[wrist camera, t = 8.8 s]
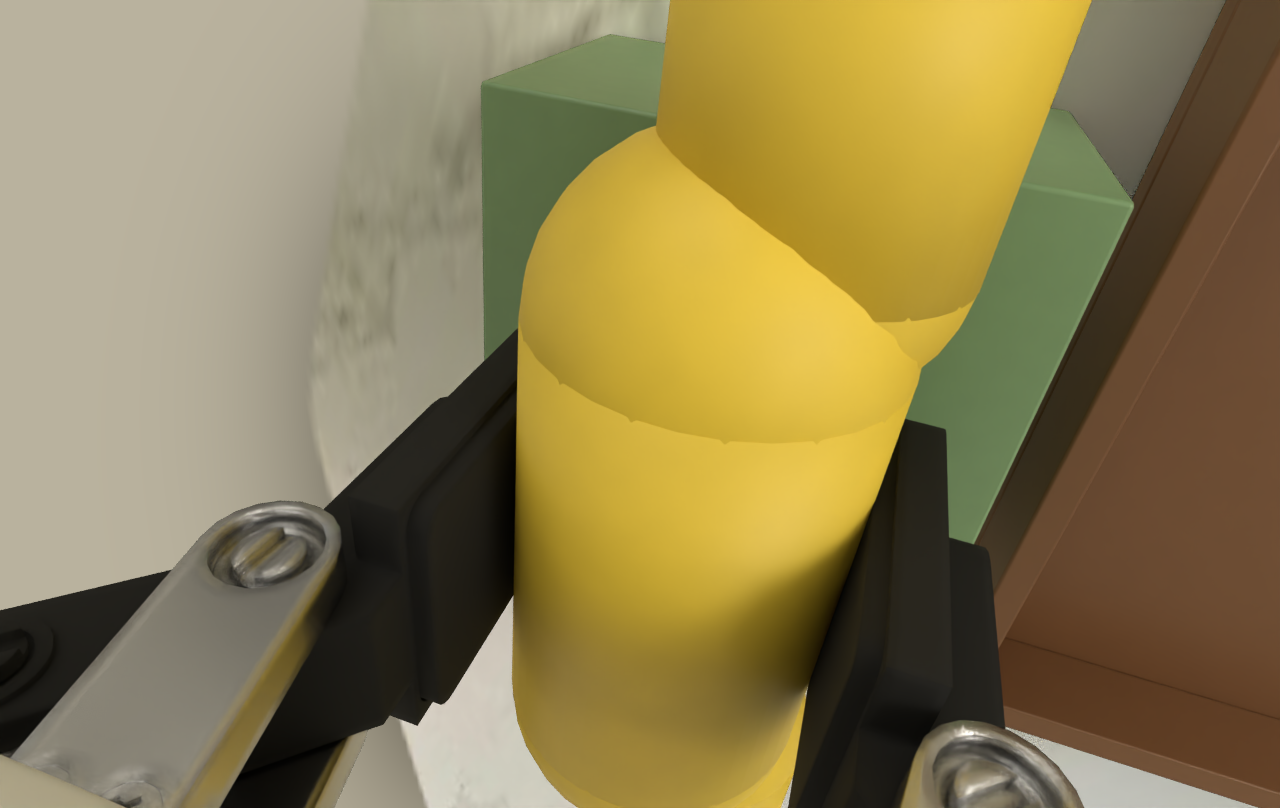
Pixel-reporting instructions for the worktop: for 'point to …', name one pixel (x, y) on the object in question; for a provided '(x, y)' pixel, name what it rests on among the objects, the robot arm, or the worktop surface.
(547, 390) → the yellow stacked capsules
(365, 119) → the worktop surface
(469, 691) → the worktop surface
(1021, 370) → the block
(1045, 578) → the tray
